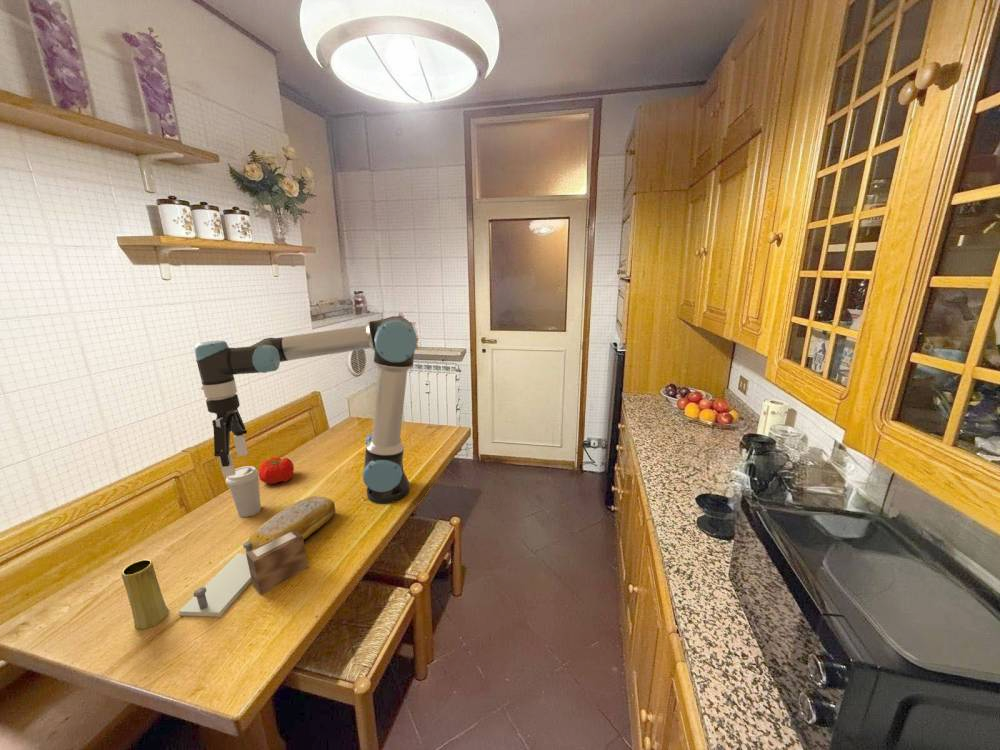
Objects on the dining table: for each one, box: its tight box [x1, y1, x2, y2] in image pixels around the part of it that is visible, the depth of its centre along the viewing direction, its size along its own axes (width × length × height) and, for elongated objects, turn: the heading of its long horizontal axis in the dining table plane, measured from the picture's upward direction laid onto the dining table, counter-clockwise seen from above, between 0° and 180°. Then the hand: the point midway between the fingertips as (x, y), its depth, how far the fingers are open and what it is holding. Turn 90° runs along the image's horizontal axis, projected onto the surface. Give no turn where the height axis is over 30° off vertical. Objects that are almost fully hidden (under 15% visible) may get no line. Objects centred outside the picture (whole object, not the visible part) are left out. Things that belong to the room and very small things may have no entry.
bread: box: [248, 495, 336, 550], centre depth 122 cm, size 13×26×8 cm, turn 165°
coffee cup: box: [225, 465, 262, 518], centre depth 134 cm, size 10×10×15 cm
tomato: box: [258, 456, 295, 485], centre depth 155 cm, size 13×12×8 cm
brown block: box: [245, 529, 309, 596], centre depth 105 cm, size 12×5×10 cm, turn 141°
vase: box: [121, 559, 170, 630], centre depth 92 cm, size 6×6×14 cm
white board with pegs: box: [178, 540, 252, 618], centre depth 103 cm, size 10×20×6 cm, turn 176°
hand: (236, 464), depth 118 cm, fingers open, 13 cm apart
